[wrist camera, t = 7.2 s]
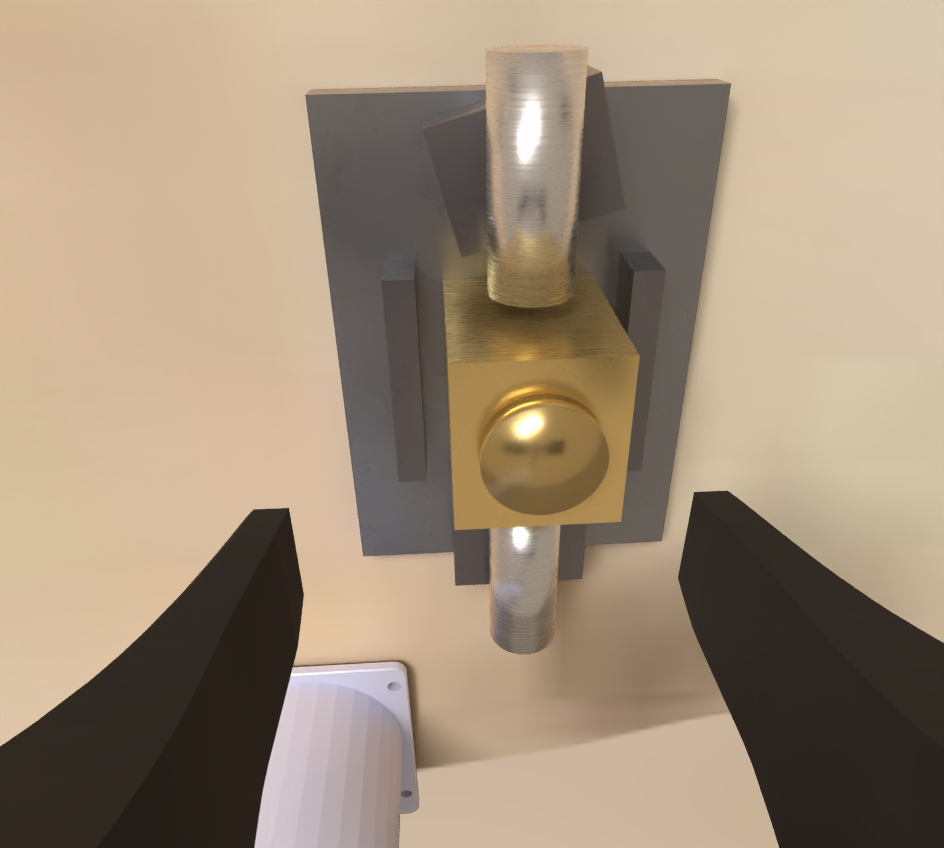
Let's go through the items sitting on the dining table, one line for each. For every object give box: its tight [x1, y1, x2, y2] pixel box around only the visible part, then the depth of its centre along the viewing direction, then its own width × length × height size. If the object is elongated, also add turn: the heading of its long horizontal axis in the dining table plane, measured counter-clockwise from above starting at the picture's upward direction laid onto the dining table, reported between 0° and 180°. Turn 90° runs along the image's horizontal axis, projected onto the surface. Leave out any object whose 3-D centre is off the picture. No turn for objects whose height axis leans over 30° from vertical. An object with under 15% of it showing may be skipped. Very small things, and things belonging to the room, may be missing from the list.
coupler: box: [443, 275, 640, 530], centre depth 18 cm, size 4×4×6 cm
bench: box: [305, 45, 731, 654], centre depth 19 cm, size 16×10×5 cm, turn 1°
